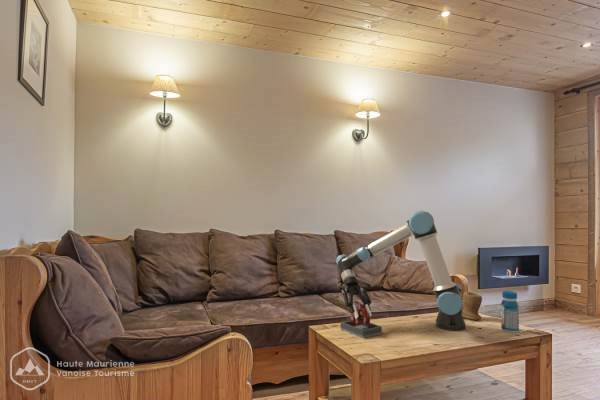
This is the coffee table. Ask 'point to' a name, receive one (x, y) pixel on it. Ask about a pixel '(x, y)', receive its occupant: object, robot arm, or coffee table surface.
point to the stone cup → (471, 305)
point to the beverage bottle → (510, 312)
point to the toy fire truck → (360, 314)
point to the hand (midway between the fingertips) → (363, 317)
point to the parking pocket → (361, 329)
